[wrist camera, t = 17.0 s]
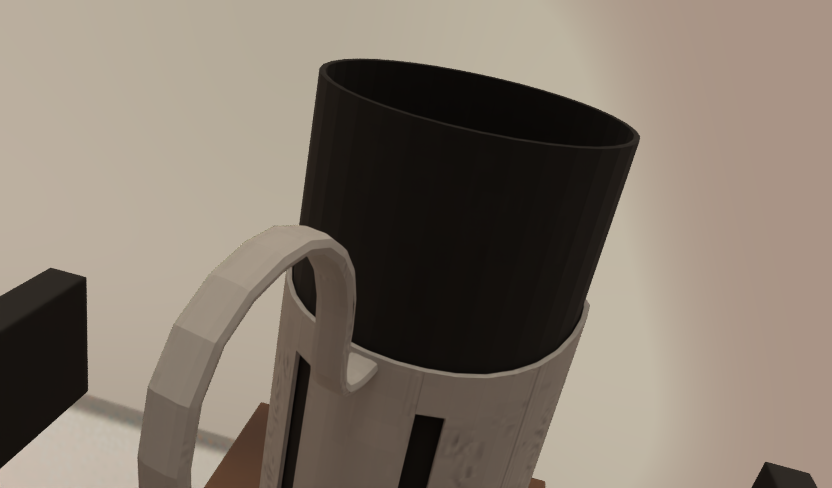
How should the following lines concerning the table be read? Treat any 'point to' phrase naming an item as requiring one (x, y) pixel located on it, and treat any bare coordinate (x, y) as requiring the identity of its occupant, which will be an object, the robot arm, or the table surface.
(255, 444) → the miniature coffee table
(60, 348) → the robot arm
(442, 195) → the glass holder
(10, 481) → the table surface
